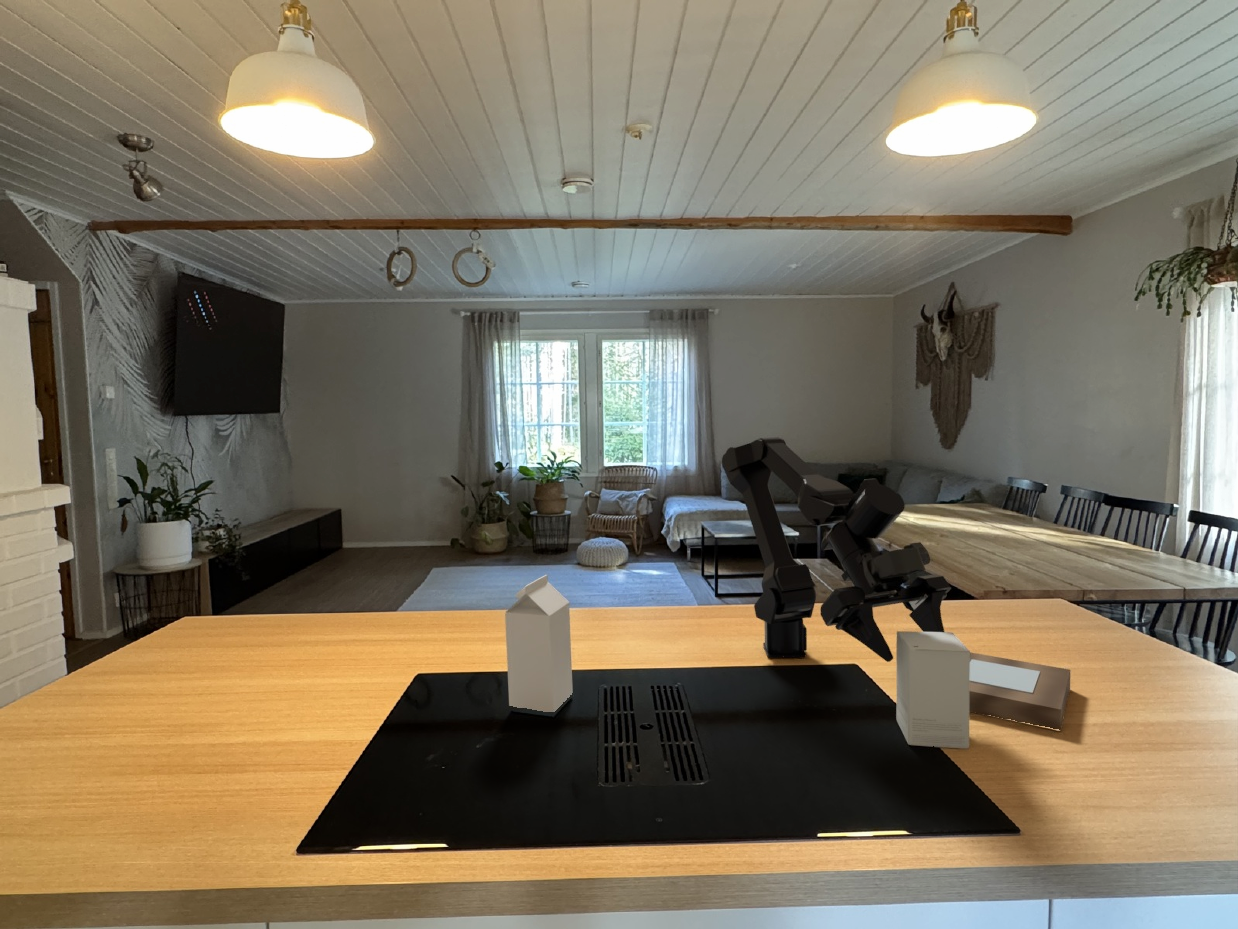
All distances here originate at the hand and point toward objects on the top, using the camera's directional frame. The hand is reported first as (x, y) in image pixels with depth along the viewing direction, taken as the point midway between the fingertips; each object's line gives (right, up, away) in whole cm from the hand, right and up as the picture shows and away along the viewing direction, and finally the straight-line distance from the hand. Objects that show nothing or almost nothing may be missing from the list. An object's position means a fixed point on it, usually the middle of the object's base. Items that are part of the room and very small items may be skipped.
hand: (918, 654), depth 89 cm
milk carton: (-51, -11, +11) cm, 53 cm away
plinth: (+16, -9, +9) cm, 21 cm away
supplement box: (+1, -10, -1) cm, 10 cm away
